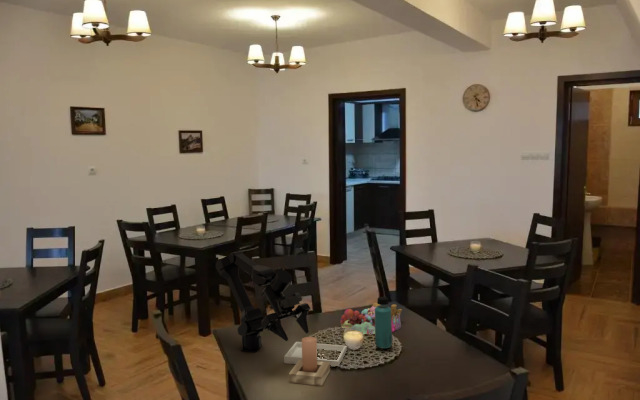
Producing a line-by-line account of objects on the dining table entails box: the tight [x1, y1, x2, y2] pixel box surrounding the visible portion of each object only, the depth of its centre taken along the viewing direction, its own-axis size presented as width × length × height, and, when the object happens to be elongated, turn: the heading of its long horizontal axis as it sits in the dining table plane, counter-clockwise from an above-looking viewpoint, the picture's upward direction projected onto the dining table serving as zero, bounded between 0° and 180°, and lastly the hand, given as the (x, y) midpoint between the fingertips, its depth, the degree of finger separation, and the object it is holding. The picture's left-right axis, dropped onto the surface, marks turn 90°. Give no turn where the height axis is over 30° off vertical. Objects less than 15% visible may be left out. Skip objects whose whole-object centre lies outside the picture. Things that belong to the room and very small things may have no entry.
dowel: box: [301, 336, 318, 373], centre depth 171 cm, size 5×5×13 cm
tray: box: [283, 341, 348, 367], centre depth 186 cm, size 20×14×2 cm
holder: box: [288, 360, 331, 387], centre depth 171 cm, size 11×11×3 cm
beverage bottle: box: [374, 296, 393, 349], centre depth 192 cm, size 6×7×20 cm
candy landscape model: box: [340, 302, 403, 334], centre depth 217 cm, size 25×24×9 cm
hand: (297, 336), depth 174 cm, fingers open, 9 cm apart
